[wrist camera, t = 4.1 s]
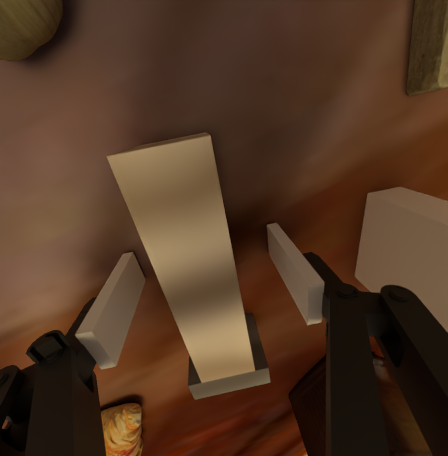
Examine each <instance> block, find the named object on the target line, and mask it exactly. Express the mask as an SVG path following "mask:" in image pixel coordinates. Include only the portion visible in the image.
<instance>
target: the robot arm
mask: <svg viewBox="0 0 448 456" xmlns="http://www.w3.org/2000/svg"><path fill="white" fill-rule="evenodd" d="M267 235H268V247H269V255H270V257H271V259H272V261H273V263H274V265H275V266H276V268H277V270H278V272H279V274H280V276H281V277H282V279H283V281H284V283H285V285H286V287H287V288H288V290H289V292H290V294H291V296H292V298H293V299H294V301H295V303H296V305H297V307H298V309H299V310H300V312H301V314H302V316H303V318H304V320H305V321H306V323H307V325H310V324H315V323H320V322H322V315H323V316H324V318H325V319H326V321H327V324H326V335H325V336H326V456H390V453H389V447H388V442H387V436H386V430H385V425H384V419H383V413H382V408H381V402H380V396H379V391H378V385H377V379H376V374H375V368H374V362H373V357H372V351H371V345H370V340H369V336H371V337H375V339H376V341H377V343H378V345H379V347H380V349H381V352H382V354H383V356H384V358H385V360H386V362H387V364H388V366H389V368H390V370H391V372H392V374H393V376H394V378H395V380H396V382H397V384H398V386H399V388H400V390H401V392H402V394H403V396H404V398H405V400H406V402H407V404H408V406H409V408H410V410H411V412H412V414H413V416H414V418H415V420H416V422H417V425H418V427H419V429H420V431H421V433H422V435H423V437H424V439H425V441H426V443H427V445H428V447H429V449H430V451H431V453H432V455H433V456H448V332H447V331H446V330H445V329H444V328H443V326H442V325H441V324H440V323H439V322H438V320H437V319H436V318H435V317H434V316H433V315H432V313H431V312H430V311H429V310H428V309H427V307H426V306H425V305H424V304H423V303H422V301H421V300H420V299H419V298H418V297H417V295H416V294H414V293H413V292H412V291H411V290H409V289H407V288H405V287H402V286H398V285H385V286H383V287H382V288H381V290H380V293H376V292H361V291H359V290H358V289H357V288H356V287H354V286H352V285H349V284H345V283H343V282H342V281H341V280H340V279H339V278H338V276H337V275H336V274H335V273H334V272H333V271H332V270H331V269H330V268H329V267H328V266H327V264H326V263H325V262H324V261H323V260H322V259H321V258H320V257H319V256H318V255H316V254H314V253H312V252H309V253H304V254H301V252H300V251H299V250H298V249H297V247H296V246H295V245H294V244H293V242H292V241H291V240H290V239H289V238H288V236H287V235H286V234H285V233H284V231H283V230H282V229H281V228H280V226H279V225H278V224H277V223H272V224H268V225H267ZM145 281H146V280H145V277H144V275H143V273H142V271H141V268H140V266H139V264H138V262H137V259H136V257H135V255H134V253H133V252H129V253H125V254H122V256H121V258H120V259H119V261H118V263H117V264H116V266H115V268H114V270H113V271H112V273H111V275H110V276H109V278H108V280H107V281H106V283H105V285H104V286H103V288H102V290H101V291H100V293H99V295H98V297H94V298H92V299H91V300H90V301H89V302H88V303H87V304H86V305H85V306H84V307H83V309H82V311H81V312H80V314H79V315H78V317H77V318H76V320H75V322H74V323H73V325H72V326H71V328H70V329H69V331H68V333H67V334H66V336H64V335H63V333H62V332H61V331H59V330H53V331H50V332H48V333H45V334H44V335H42V336H41V337H39V338H38V339H37V340H36V341H34V342H33V343H32V344H31V346H30V347H29V348H28V350H27V352H26V354H27V355H28V356H29V357H30V358H31V359H32V360H33V361H34V362H35V364H33V365H31V366H29V367H27V368H25V369H22V370H20V369H19V368H18V367H17V366H15V365H11V366H7V367H5V368H3V369H1V370H0V456H107V455H106V448H105V440H104V432H103V425H102V417H101V410H100V402H99V395H98V387H97V380H96V375H95V373H94V372H93V369H94V367H95V364H96V363H97V364H98V366H99V367H100V368H101V369H106V368H110V367H115V366H116V365H117V362H118V359H119V357H120V354H121V351H122V348H123V345H124V342H125V339H126V336H127V333H128V330H129V327H130V324H131V322H132V319H133V316H134V313H135V310H136V307H137V304H138V301H139V298H140V295H141V292H142V290H143V287H144V284H145ZM5 419H6V420H8V423H7V425H6V427H5V428H4V429H2V426H3V423H4V421H5Z"/></svg>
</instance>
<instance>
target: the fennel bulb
mask: <svg viewBox="0 0 448 456" xmlns="http://www.w3.org/2000/svg"><path fill="white" fill-rule="evenodd" d="M62 16H63V7H62V0H0V60H7V61H19V60H23V59H25V58H26V57H28V56H30V55H31V54H32V53H33V52H34V51H35V50H36V49H37V48H38V47H39V46H41V45H43V44H45V43H47V42H48V41H49V40H50V39H51V38H52V37H53V35H54V34H55V33H56V31H57V28H58V27H59V22H60V20H61V18H62Z"/></svg>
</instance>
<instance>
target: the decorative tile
mask: <svg viewBox="0 0 448 456" xmlns="http://www.w3.org/2000/svg"><path fill="white" fill-rule="evenodd" d="M447 87H448V0H415V3H414V14H413V23H412V36H411V45H410V56H409V68H408V78H407V93H408V95H417V94H422V93H426V92H431V91H437V90H441V89H444V88H447Z"/></svg>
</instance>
